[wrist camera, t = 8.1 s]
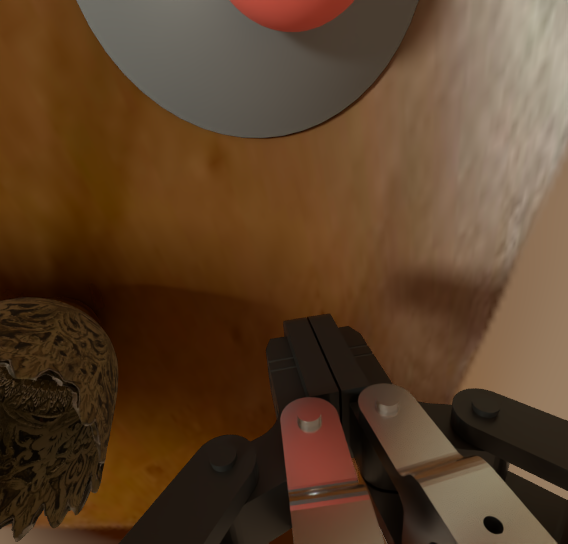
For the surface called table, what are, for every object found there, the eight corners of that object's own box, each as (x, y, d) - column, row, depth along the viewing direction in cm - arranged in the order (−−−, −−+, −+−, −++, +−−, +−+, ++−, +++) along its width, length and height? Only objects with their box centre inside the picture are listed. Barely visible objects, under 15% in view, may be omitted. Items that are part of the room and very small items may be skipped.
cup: (-59, 317, 18) (-256, 471, 10) (56, 219, 17) (-73, 313, 9) (74, 408, 21) (-7, 576, 13) (178, 330, 20) (151, 466, 12)
